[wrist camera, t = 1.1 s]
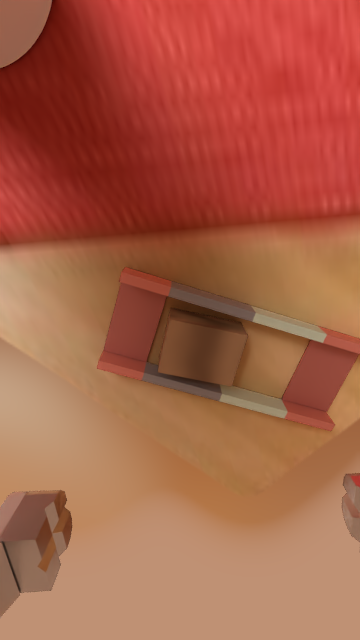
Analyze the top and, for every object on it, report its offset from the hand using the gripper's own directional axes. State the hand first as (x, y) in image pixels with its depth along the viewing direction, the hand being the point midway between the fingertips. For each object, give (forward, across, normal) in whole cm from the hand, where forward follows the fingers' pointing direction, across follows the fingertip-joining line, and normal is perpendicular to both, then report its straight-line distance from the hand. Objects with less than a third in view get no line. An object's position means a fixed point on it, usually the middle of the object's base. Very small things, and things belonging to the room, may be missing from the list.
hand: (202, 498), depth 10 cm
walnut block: (+27, 0, +6) cm, 28 cm away
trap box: (+27, -4, +7) cm, 28 cm away
